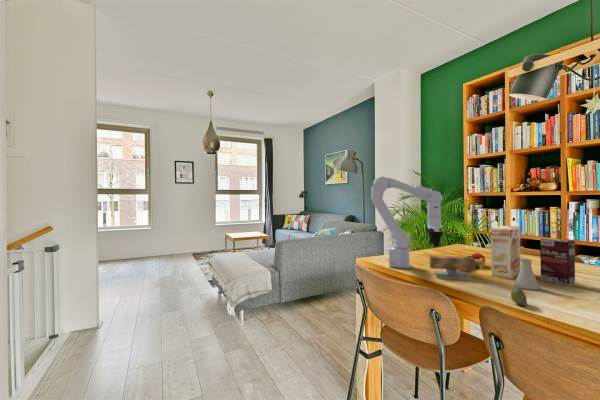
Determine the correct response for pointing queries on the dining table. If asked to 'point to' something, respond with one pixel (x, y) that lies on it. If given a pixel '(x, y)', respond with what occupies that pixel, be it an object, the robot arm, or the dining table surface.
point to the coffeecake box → (505, 251)
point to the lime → (519, 296)
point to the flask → (526, 276)
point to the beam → (452, 263)
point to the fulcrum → (452, 275)
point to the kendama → (477, 260)
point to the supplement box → (557, 261)
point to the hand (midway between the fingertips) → (434, 245)
